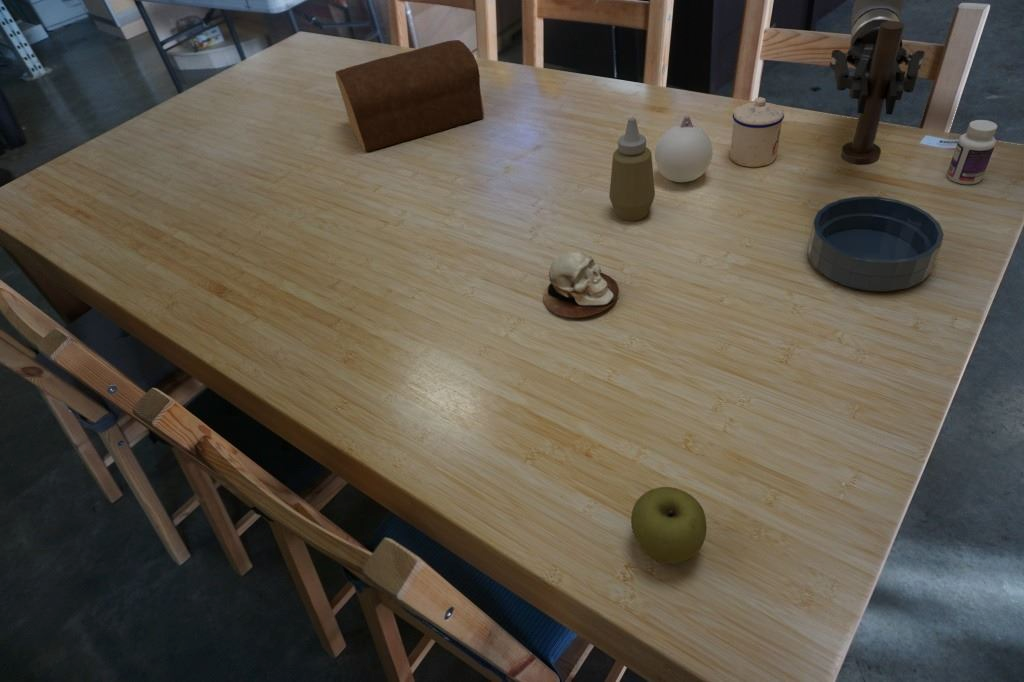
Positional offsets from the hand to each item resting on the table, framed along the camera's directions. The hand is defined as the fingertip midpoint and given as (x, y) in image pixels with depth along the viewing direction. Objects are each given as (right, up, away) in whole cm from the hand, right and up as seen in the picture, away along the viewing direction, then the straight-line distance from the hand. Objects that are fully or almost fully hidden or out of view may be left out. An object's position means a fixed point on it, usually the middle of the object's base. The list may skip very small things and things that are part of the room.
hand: (876, 104), depth 95 cm
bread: (-75, +19, +66) cm, 101 cm away
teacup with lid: (-5, +3, +37) cm, 37 cm away
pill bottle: (+27, -5, +22) cm, 36 cm away
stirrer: (+3, -4, +11) cm, 12 cm away
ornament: (-19, -2, +33) cm, 39 cm away
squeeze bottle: (-30, -10, +27) cm, 42 cm away
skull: (-41, -27, +12) cm, 50 cm away
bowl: (+3, -21, +9) cm, 23 cm away
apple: (-35, -56, -21) cm, 70 cm away
